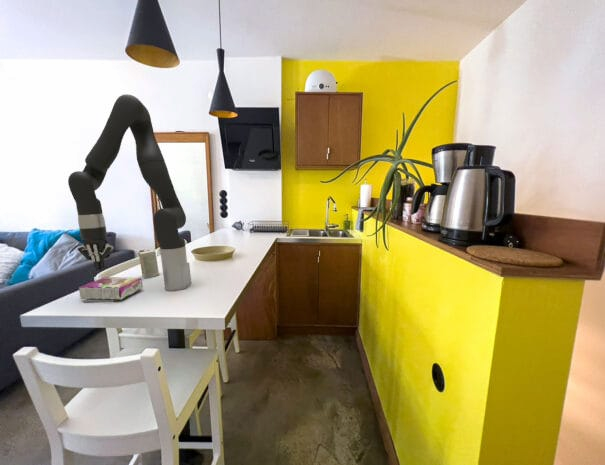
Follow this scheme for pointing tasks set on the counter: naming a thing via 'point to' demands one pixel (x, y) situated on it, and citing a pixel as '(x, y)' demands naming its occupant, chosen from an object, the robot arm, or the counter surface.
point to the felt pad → (98, 300)
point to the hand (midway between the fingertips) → (100, 270)
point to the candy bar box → (111, 288)
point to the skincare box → (148, 264)
